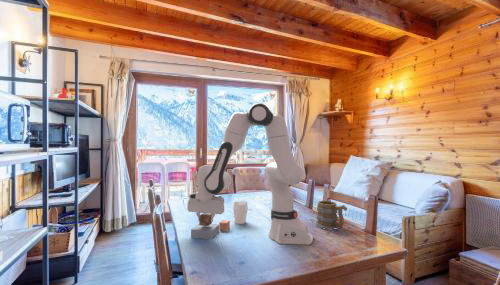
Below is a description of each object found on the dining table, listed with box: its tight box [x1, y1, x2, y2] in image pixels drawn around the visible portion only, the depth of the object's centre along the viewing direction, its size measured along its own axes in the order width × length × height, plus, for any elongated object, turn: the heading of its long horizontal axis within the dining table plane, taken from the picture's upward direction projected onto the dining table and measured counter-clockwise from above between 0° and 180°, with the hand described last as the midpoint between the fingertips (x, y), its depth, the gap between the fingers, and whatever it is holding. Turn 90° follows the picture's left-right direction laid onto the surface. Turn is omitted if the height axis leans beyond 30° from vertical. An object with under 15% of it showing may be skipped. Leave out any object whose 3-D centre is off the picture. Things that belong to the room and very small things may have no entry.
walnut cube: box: [198, 213, 213, 226], centre depth 125 cm, size 5×5×5 cm
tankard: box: [315, 200, 348, 230], centre depth 137 cm, size 20×13×15 cm, turn 27°
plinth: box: [190, 223, 220, 240], centre depth 125 cm, size 11×11×4 cm
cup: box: [232, 200, 249, 225], centre depth 146 cm, size 9×9×12 cm
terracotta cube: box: [218, 219, 231, 232], centre depth 133 cm, size 4×4×4 cm
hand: (205, 221), depth 126 cm, fingers closed on walnut cube, 5 cm apart
